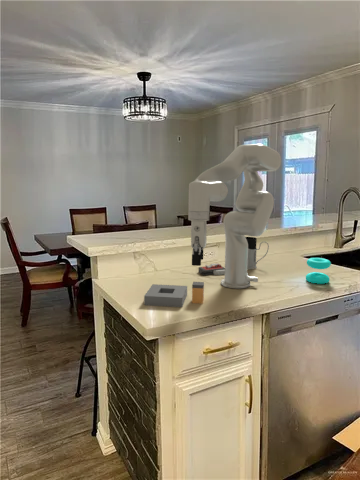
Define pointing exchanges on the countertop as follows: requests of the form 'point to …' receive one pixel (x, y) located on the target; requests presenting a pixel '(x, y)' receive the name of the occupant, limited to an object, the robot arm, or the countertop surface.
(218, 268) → the walkie-talkie
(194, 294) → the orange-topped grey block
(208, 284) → the countertop surface
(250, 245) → the grey and black mug
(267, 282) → the countertop surface
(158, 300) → the socket plate
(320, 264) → the donuts
